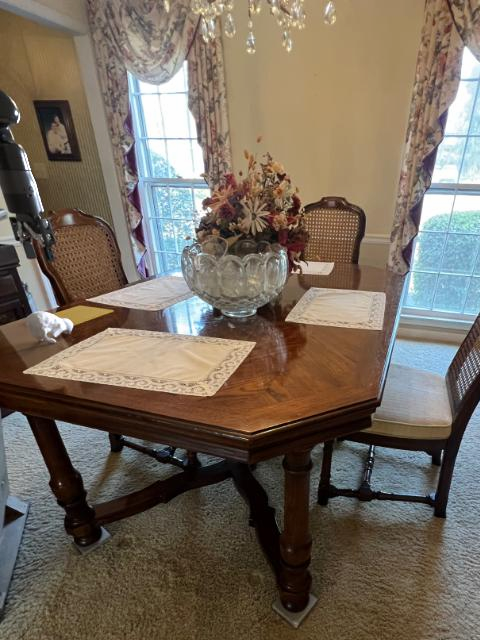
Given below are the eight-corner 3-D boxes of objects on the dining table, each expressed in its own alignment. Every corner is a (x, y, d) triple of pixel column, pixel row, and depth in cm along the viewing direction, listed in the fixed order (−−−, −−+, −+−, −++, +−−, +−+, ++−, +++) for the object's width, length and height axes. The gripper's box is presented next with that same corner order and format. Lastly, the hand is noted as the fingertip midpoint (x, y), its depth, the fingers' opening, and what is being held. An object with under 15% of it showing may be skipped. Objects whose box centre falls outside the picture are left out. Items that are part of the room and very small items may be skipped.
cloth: (65, 328, 117) (64, 327, 117) (28, 322, 122) (27, 321, 122) (114, 311, 133) (113, 310, 133) (80, 306, 138) (79, 305, 138)
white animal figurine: (19, 312, 101) (59, 305, 112) (28, 343, 105) (65, 333, 115) (37, 315, 100) (75, 307, 110) (45, 346, 103) (81, 336, 114)
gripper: (-12, 191, 94) (11, 260, 102) (20, 192, 88) (43, 265, 96) (19, 191, 100) (39, 256, 108) (52, 192, 94) (71, 260, 102)
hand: (41, 260), depth 102 cm, fingers open, 8 cm apart
